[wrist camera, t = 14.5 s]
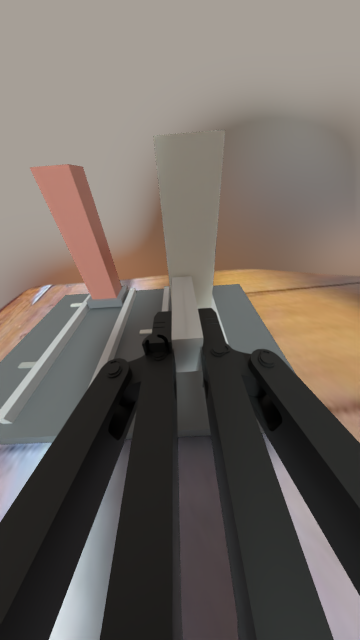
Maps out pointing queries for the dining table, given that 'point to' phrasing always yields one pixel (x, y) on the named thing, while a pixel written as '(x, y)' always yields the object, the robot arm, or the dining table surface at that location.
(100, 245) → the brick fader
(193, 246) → the cream fader
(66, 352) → the console
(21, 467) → the dining table surface
